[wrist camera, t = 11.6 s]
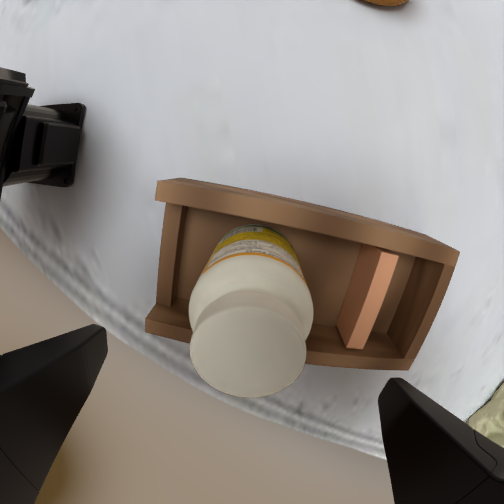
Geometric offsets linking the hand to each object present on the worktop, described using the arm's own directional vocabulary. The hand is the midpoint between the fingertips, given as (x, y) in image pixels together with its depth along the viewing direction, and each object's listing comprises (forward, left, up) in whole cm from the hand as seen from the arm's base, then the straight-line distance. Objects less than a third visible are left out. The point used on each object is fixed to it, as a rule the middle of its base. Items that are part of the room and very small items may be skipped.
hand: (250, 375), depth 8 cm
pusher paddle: (+7, 0, -11) cm, 13 cm away
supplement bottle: (0, 0, -11) cm, 11 cm away
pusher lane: (+3, 0, -12) cm, 12 cm away
